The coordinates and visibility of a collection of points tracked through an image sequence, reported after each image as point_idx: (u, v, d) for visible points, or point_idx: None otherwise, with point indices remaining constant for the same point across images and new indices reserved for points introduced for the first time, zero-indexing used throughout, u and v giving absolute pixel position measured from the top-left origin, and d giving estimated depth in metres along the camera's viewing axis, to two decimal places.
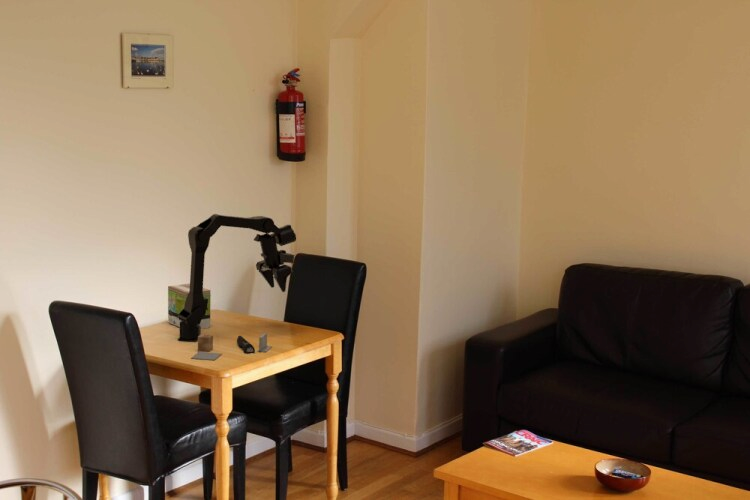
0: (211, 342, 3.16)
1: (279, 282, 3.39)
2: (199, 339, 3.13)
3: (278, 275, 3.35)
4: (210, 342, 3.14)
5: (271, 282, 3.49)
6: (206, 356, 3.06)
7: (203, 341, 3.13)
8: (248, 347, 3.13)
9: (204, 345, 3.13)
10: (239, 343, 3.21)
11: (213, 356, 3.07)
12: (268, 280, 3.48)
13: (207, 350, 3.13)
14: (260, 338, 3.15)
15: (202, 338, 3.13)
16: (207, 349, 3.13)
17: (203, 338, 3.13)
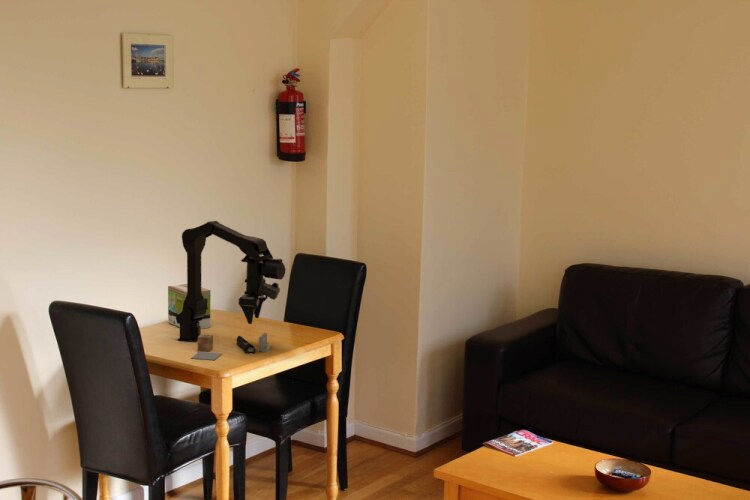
0: (211, 342, 3.16)
1: (244, 311, 3.11)
2: (199, 339, 3.13)
3: (239, 302, 3.07)
4: (210, 342, 3.14)
5: (256, 312, 3.21)
6: (206, 356, 3.06)
7: (203, 341, 3.13)
8: (248, 347, 3.14)
9: (204, 345, 3.13)
10: (239, 343, 3.21)
11: (213, 356, 3.07)
12: None
13: (207, 350, 3.13)
14: (260, 338, 3.15)
15: (202, 338, 3.13)
16: (207, 349, 3.13)
17: (203, 338, 3.13)
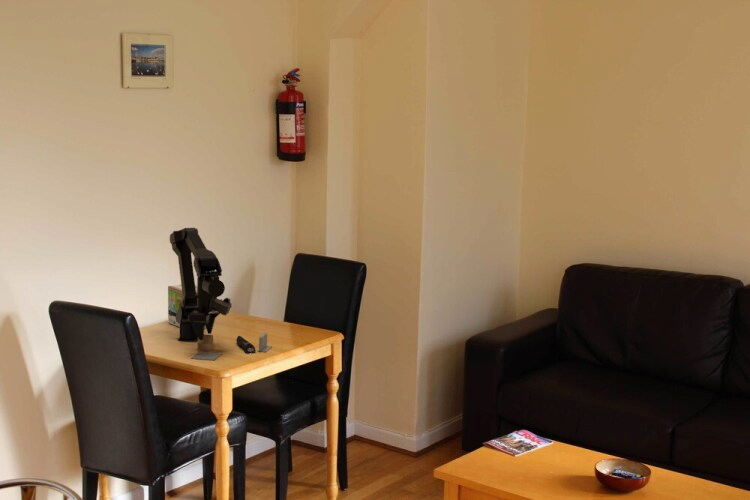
0: (211, 342, 3.16)
1: (194, 327, 3.08)
2: None
3: (188, 318, 3.05)
4: (210, 342, 3.14)
5: (209, 327, 3.19)
6: (206, 356, 3.06)
7: (203, 341, 3.13)
8: (249, 347, 3.14)
9: (204, 345, 3.13)
10: (239, 343, 3.21)
11: (213, 356, 3.07)
12: (206, 324, 3.19)
13: (207, 350, 3.13)
14: (260, 338, 3.15)
15: None
16: (207, 349, 3.13)
17: (203, 338, 3.13)
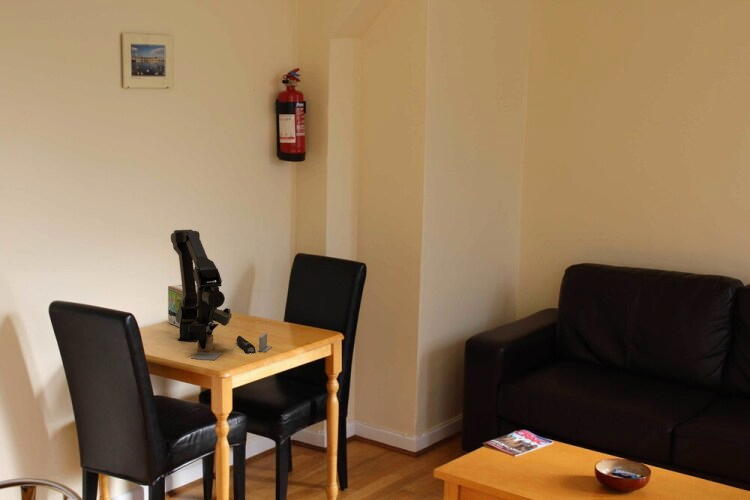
0: (211, 342, 3.16)
1: (197, 336, 3.11)
2: None
3: (188, 329, 3.06)
4: (210, 342, 3.14)
5: None
6: (206, 356, 3.06)
7: None
8: (249, 347, 3.14)
9: None
10: (239, 343, 3.21)
11: (213, 356, 3.07)
12: None
13: (207, 350, 3.13)
14: (260, 338, 3.15)
15: None
16: (207, 349, 3.13)
17: None
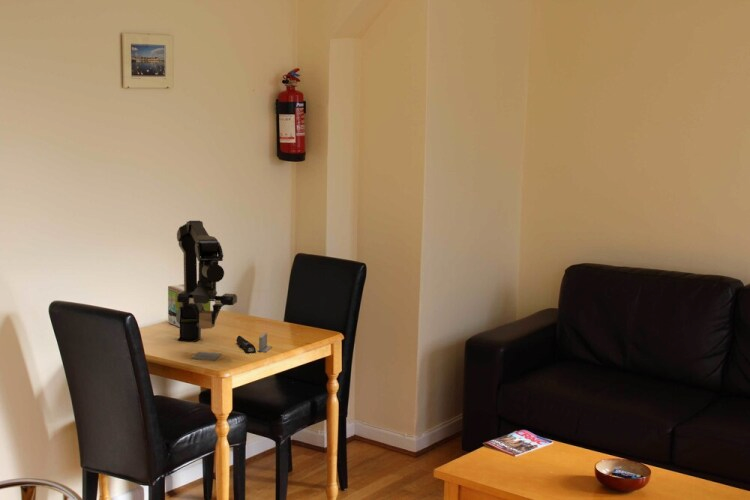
0: (207, 320, 3.03)
1: None
2: None
3: None
4: (203, 319, 3.04)
5: None
6: (206, 356, 3.06)
7: None
8: (249, 347, 3.14)
9: None
10: (239, 343, 3.21)
11: (213, 356, 3.07)
12: None
13: None
14: (260, 338, 3.15)
15: None
16: None
17: None
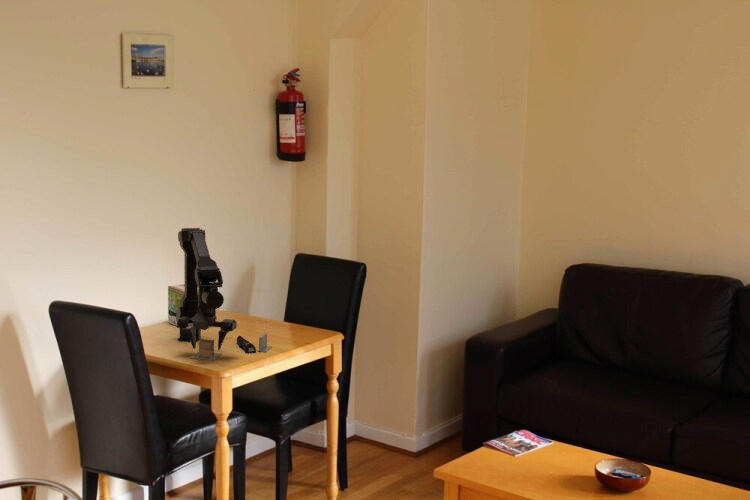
0: (207, 349, 3.05)
1: None
2: None
3: None
4: (202, 348, 3.05)
5: None
6: None
7: None
8: (249, 347, 3.14)
9: None
10: (239, 343, 3.21)
11: (213, 356, 3.07)
12: None
13: None
14: (260, 338, 3.15)
15: None
16: None
17: None
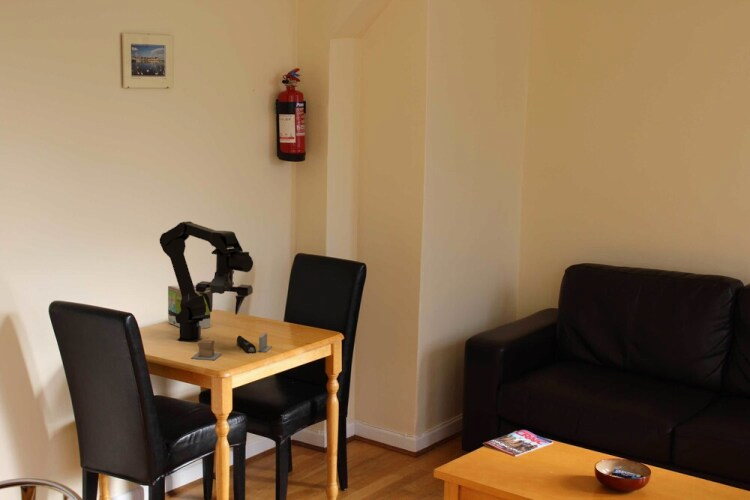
0: (207, 349, 3.05)
1: None
2: None
3: None
4: (202, 348, 3.05)
5: None
6: None
7: None
8: (250, 347, 3.14)
9: None
10: (239, 343, 3.21)
11: (213, 356, 3.07)
12: None
13: None
14: (260, 338, 3.15)
15: None
16: None
17: None
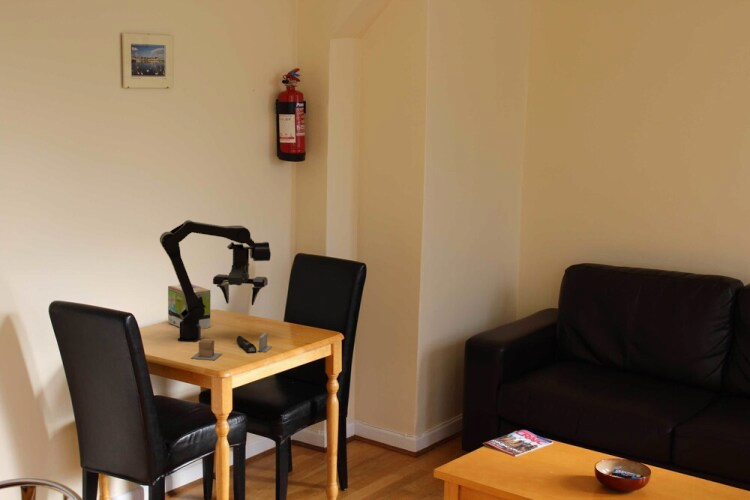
0: (207, 349, 3.05)
1: None
2: None
3: None
4: (202, 348, 3.05)
5: None
6: None
7: None
8: (250, 347, 3.14)
9: None
10: (240, 343, 3.21)
11: (213, 356, 3.07)
12: None
13: None
14: (260, 338, 3.15)
15: None
16: None
17: None
